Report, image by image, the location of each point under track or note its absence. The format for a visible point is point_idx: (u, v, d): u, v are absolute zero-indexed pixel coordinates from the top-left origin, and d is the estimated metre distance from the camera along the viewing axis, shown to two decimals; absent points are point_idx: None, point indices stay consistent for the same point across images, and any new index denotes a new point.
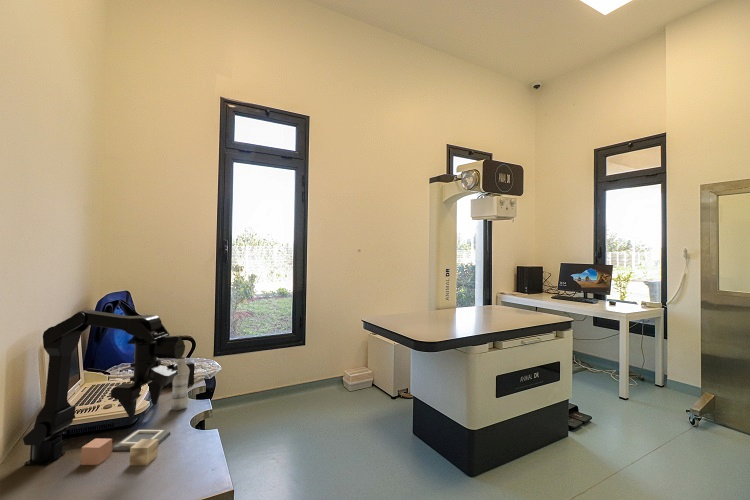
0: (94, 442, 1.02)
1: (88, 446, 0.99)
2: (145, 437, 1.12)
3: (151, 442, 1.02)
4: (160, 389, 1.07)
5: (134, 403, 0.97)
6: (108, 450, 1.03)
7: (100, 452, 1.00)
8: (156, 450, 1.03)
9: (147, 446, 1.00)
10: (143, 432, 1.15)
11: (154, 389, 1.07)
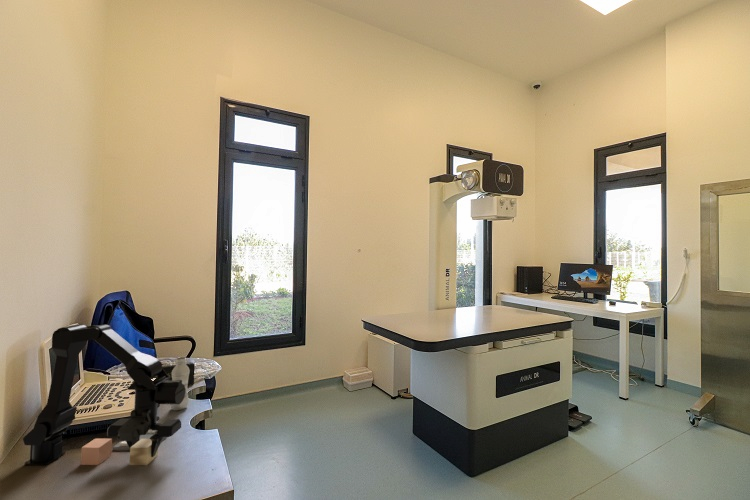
0: (94, 442, 1.02)
1: (88, 446, 0.99)
2: (145, 437, 1.12)
3: (151, 442, 1.02)
4: (152, 443, 1.00)
5: (130, 443, 1.00)
6: (108, 449, 1.03)
7: (100, 452, 1.00)
8: None
9: (147, 446, 1.00)
10: None
11: None
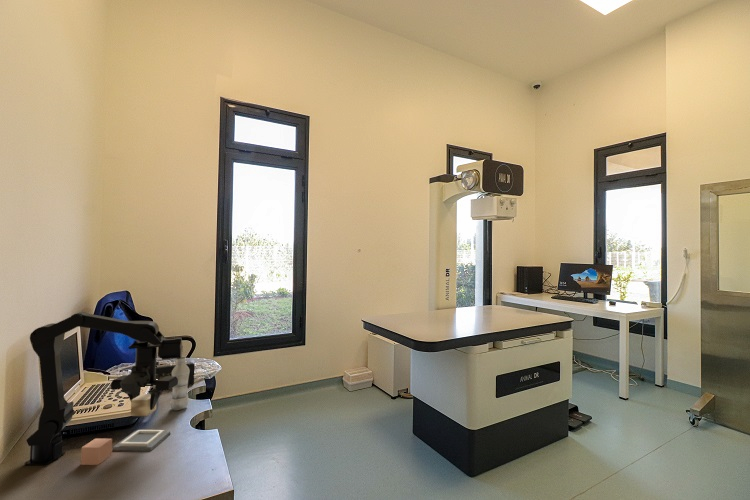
0: (94, 442, 1.02)
1: (88, 446, 0.99)
2: (145, 437, 1.12)
3: (150, 396, 1.11)
4: (151, 397, 1.10)
5: (131, 397, 1.10)
6: (108, 449, 1.03)
7: (100, 452, 1.00)
8: None
9: (146, 399, 1.09)
10: (143, 432, 1.15)
11: None
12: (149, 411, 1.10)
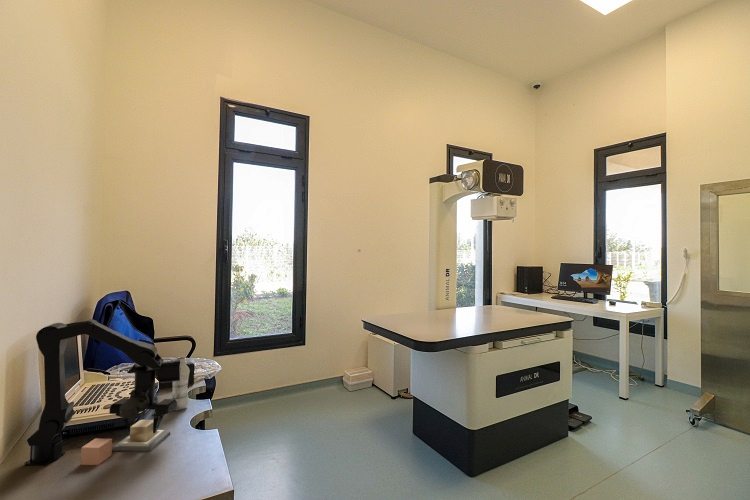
0: (94, 442, 1.02)
1: (88, 446, 0.99)
2: None
3: (149, 422, 1.12)
4: (154, 421, 1.10)
5: (126, 421, 1.10)
6: (108, 449, 1.03)
7: (100, 452, 1.00)
8: None
9: (146, 425, 1.10)
10: None
11: None
12: (148, 437, 1.10)
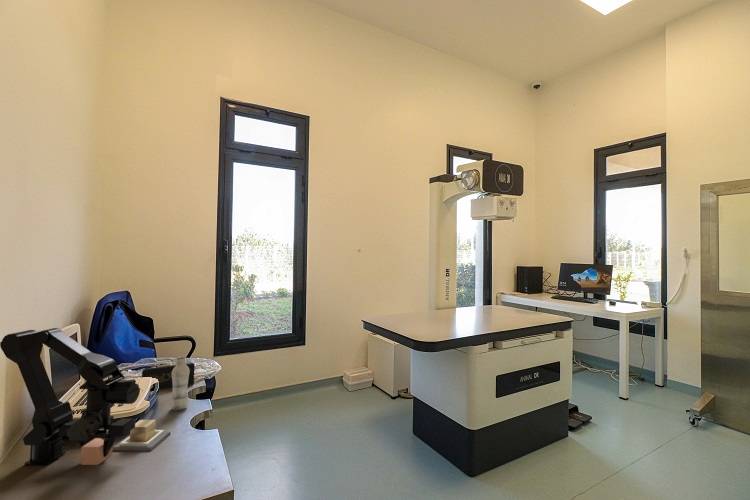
0: (94, 442, 1.02)
1: (88, 446, 0.99)
2: None
3: (149, 422, 1.12)
4: (104, 443, 1.00)
5: (82, 443, 1.00)
6: None
7: (100, 452, 1.00)
8: (154, 430, 1.13)
9: (146, 425, 1.10)
10: None
11: None
12: (148, 437, 1.10)
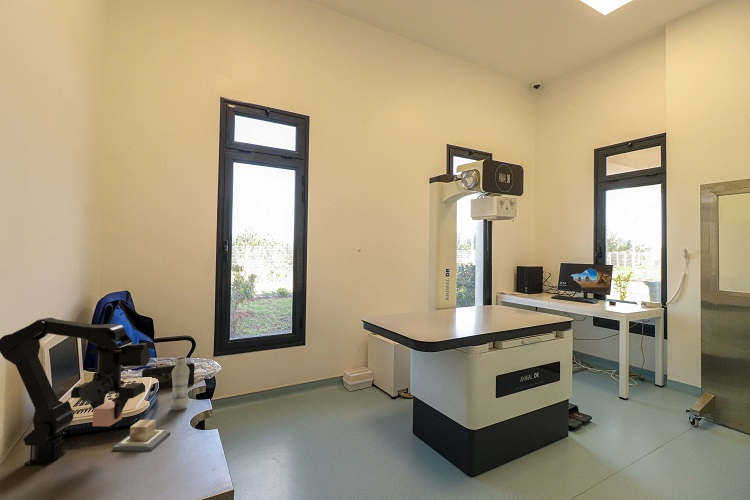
0: (105, 405, 1.04)
1: (99, 408, 1.02)
2: None
3: (149, 422, 1.12)
4: (115, 405, 1.02)
5: (93, 406, 1.02)
6: None
7: (111, 414, 1.02)
8: (154, 430, 1.13)
9: (146, 425, 1.10)
10: None
11: None
12: (148, 437, 1.10)
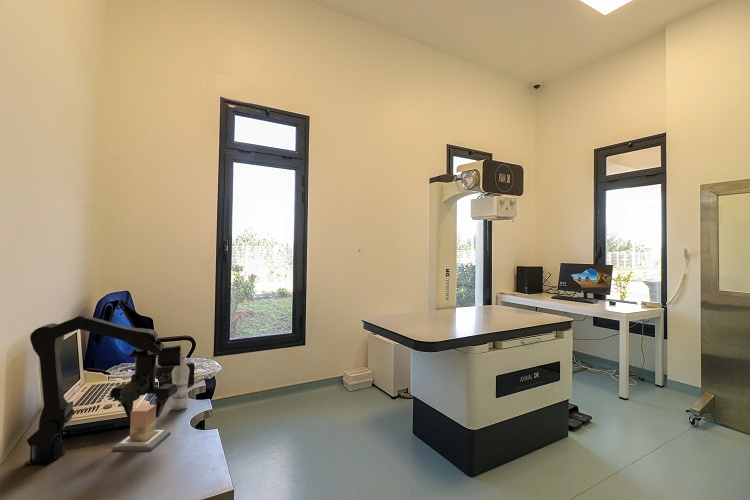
0: (141, 407, 1.12)
1: (136, 410, 1.10)
2: None
3: None
4: (157, 405, 1.11)
5: (124, 405, 1.10)
6: (153, 414, 1.13)
7: (147, 415, 1.10)
8: (154, 430, 1.13)
9: None
10: None
11: None
12: (148, 437, 1.10)
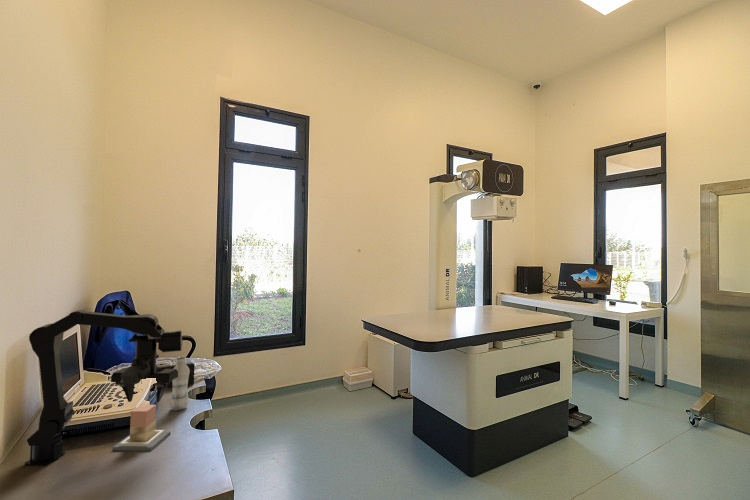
0: (141, 407, 1.12)
1: (136, 410, 1.10)
2: None
3: None
4: (158, 389, 1.11)
5: (125, 389, 1.11)
6: (153, 414, 1.13)
7: (147, 415, 1.10)
8: (154, 430, 1.13)
9: None
10: None
11: None
12: (148, 437, 1.10)
